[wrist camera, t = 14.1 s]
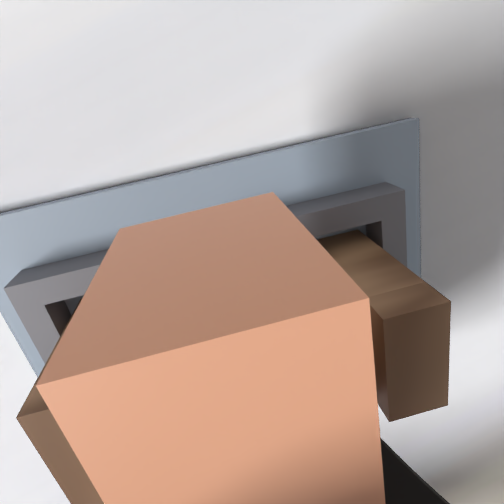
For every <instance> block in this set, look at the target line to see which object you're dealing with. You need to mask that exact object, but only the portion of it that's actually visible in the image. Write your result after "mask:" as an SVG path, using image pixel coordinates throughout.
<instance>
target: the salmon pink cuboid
mask: <svg viewBox="0 0 504 504" xmlns="http://www.w3.org/2000/svg"><path fill="white" fill-rule="evenodd" d="M36 387H37V389H38V391H39V393H40V394H41V396H42V398H43V399H44V401H45V403H46V405H47V406H48V408H49V410H50V412H51V413H52V415H53V417H54V418H55V420H56V422H57V424H58V425H59V427H60V429H61V430H62V432H63V434H64V436H65V437H66V439H67V441H68V442H69V444H70V446H71V448H72V449H73V451H74V453H75V454H76V456H77V458H78V460H79V461H80V463H81V465H82V466H83V468H84V470H85V472H86V473H87V475H88V477H89V478H90V480H91V482H92V484H93V485H94V487H95V489H96V491H97V492H98V494H99V496H100V497H101V499H102V501H103V503H104V504H385V491H384V479H383V466H382V453H381V441H380V428H379V416H378V403H377V390H376V378H375V365H374V352H373V340H372V327H371V314H370V302H369V297H368V296H367V295H366V294H365V293H364V292H363V291H362V289H361V288H360V287H359V286H358V285H357V284H356V283H355V282H354V281H353V279H352V278H351V277H350V276H349V275H348V274H347V273H346V272H345V271H344V270H343V268H342V267H341V266H340V265H339V264H338V263H337V262H336V261H335V260H334V259H333V257H332V256H331V255H330V254H329V253H328V252H327V251H326V250H325V249H324V247H323V246H322V245H321V244H320V243H319V242H318V241H317V240H316V239H315V238H314V236H313V235H312V234H311V233H310V232H309V231H308V230H307V229H306V228H305V227H304V225H303V224H302V223H301V222H300V221H299V220H298V219H297V218H296V217H295V215H294V214H293V213H292V212H291V211H290V210H289V209H288V208H287V207H286V206H285V204H284V203H283V202H282V201H281V200H280V199H279V198H278V197H277V196H276V195H275V193H274V192H270V193H266V194H262V195H258V196H254V197H250V198H245V199H241V200H237V201H233V202H229V203H224V204H220V205H216V206H212V207H208V208H204V209H199V210H195V211H191V212H187V213H183V214H179V215H174V216H170V217H166V218H162V219H158V220H154V221H149V222H145V223H141V224H137V225H133V226H129V227H124V228H120V229H119V231H118V233H117V234H116V236H115V238H114V240H113V242H112V244H111V246H110V248H109V249H108V251H107V253H106V255H105V257H104V259H103V261H102V263H101V264H100V266H99V268H98V270H97V272H96V274H95V276H94V278H93V279H92V281H91V283H90V285H89V287H88V289H87V291H86V292H85V294H84V296H83V298H82V300H81V302H80V304H79V306H78V307H77V309H76V311H75V313H74V315H73V317H72V319H71V321H70V322H69V324H68V326H67V328H66V330H65V332H64V334H63V336H62V337H61V339H60V341H59V343H58V345H57V347H56V349H55V351H54V352H53V354H52V356H51V358H50V360H49V362H48V364H47V366H46V367H45V369H44V371H43V373H42V375H41V377H40V379H39V381H38V382H37V384H36Z"/></svg>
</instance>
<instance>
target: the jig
mask: <svg viewBox="0 0 504 504" xmlns="http://www.w3.org/2000/svg"><path fill="white" fill-rule="evenodd" d="M270 192H274V193H275V195H276V196H277V197H278V198H279V199H280V200H281V201H282V202H283V203H284V204H285V206H286V207H287V208H288V209H289V210H290V211H291V212H292V213H293V214H294V215H295V217H296V218H297V219H298V220H299V221H300V222H301V223H302V224H303V225H304V227H305V228H306V229H307V230H308V231H309V232H310V233H311V234H312V235H313V236H314V238H315V239H316V240H317V239H321V238H325V237H329V236H333V235H337V234H341V233H345V232H349V231H353V230H357V229H358V230H359V231H360V232H362V233H363V234H364V235H366V236H367V237H368V238H369V239H371V240H372V241H373V242H375V243H376V244H377V245H379V246H380V247H381V248H382V249H384V250H385V251H386V252H388V253H389V254H390V255H391V256H393V257H394V258H395V259H397V260H398V261H399V262H400V263H402V264H403V265H404V266H406V267H407V268H408V269H410V270H411V271H412V272H413V273H415V274H416V275H417V276H419V277H420V278H421V252H420V161H419V119H417V118H408V119H404V120H400V121H395V122H391V123H387V124H383V125H378V126H374V127H370V128H365V129H361V130H357V131H352V132H348V133H344V134H339V135H335V136H331V137H326V138H322V139H318V140H314V141H309V142H305V143H301V144H296V145H292V146H288V147H283V148H279V149H275V150H270V151H266V152H262V153H258V154H253V155H249V156H245V157H240V158H236V159H232V160H227V161H223V162H219V163H214V164H210V165H206V166H201V167H197V168H193V169H189V170H184V171H180V172H176V173H171V174H167V175H163V176H158V177H154V178H150V179H145V180H141V181H137V182H133V183H128V184H124V185H120V186H115V187H111V188H107V189H102V190H98V191H94V192H89V193H85V194H81V195H76V196H72V197H68V198H64V199H59V200H55V201H51V202H46V203H42V204H38V205H33V206H29V207H25V208H20V209H16V210H12V211H8V212H3V213H0V312H1V314H2V316H3V318H4V319H5V321H6V323H7V325H8V326H9V328H10V330H11V332H12V333H13V335H14V337H15V339H16V340H17V342H18V344H19V346H20V347H21V349H22V351H23V353H24V354H25V356H26V358H27V360H28V361H29V363H30V365H31V367H32V368H33V370H34V372H35V374H36V375H37V377H39V375H40V373H41V371H42V369H43V367H44V365H45V364H46V362H47V360H48V358H49V356H50V354H51V353H52V351H53V349H54V347H55V345H56V343H57V341H58V340H59V338H60V336H61V334H62V332H63V330H64V329H65V327H66V325H67V323H68V321H69V319H70V317H71V316H72V314H73V312H74V310H75V308H76V306H77V304H78V303H79V301H80V299H81V298H83V296H84V294H85V292H86V291H87V289H88V287H89V285H90V283H91V281H92V279H93V278H94V276H95V274H96V272H97V270H98V268H99V266H100V264H101V263H102V261H103V259H104V257H105V255H106V253H107V251H108V249H109V248H110V246H111V244H112V242H113V240H114V238H115V236H116V234H117V233H118V231H119V229H120V228H124V227H129V226H133V225H137V224H141V223H145V222H149V221H154V220H158V219H162V218H166V217H170V216H174V215H179V214H183V213H187V212H191V211H195V210H199V209H204V208H208V207H212V206H216V205H220V204H224V203H229V202H233V201H237V200H241V199H245V198H250V197H254V196H258V195H262V194H266V193H270Z"/></svg>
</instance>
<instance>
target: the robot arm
mask: <svg viewBox="0 0 504 504" xmlns="http://www.w3.org/2000/svg"><path fill="white" fill-rule="evenodd" d="M380 441H381V453H382V466H383V479H384V491H385V504H450V503H448V502H447V501H446V500H445V499H444V498H443V497H442V496H441V495H439V494H438V493H437V492H436V491H435V490H434V489H433V488H432V487H431V486H429V485H428V484H427V483H426V482H425V481H424V480H423V479H422V478H421V477H420V476H419V475H418V474H417V473H415V472H414V471H413V470H412V469H411V468H410V467H409V466H408V465H407V464H406V463H405V462H404V461H403V460H402V459H401V458H400V457H399V456H398V455H397V454H396V453H395V452H394V451H393V450H392V449H391V448H390V447H389V446H388V445H387V444H386V443H385V442H384V441H383V440H382V439H381V438H380Z"/></svg>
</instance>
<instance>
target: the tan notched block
mask: <svg viewBox="0 0 504 504" xmlns="http://www.w3.org/2000/svg"><path fill="white" fill-rule="evenodd" d="M317 241H318V242H319V243H320V244H321V245H322V246H323V247H324V249H325V250H326V251H327V252H328V253H329V254H330V255H331V256H332V257H333V259H334V260H335V261H336V262H337V263H338V264H339V265H340V266H341V267H342V268H343V270H344V271H345V272H346V273H347V274H348V275H349V276H350V277H351V278H352V279H353V281H354V282H355V283H356V284H357V285H358V286H359V287H360V288H361V289H362V291H363V292H364V293H365V294H366V295H367V296H368V297H369V302H370V314H371V327H372V340H373V352H374V365H375V378H376V390H377V403H378V405H379V406H380V408H381V409H382V411H383V413H384V414H385V416H386V417H387V419H388V421H389V422H391V421H395V420H398V419H402V418H405V417H409V416H412V415H416V414H419V413H423V412H426V411H430V410H433V409H437V408H440V407H443V406H447V405H448V381H449V346H450V312H451V301H450V300H448V299H447V298H446V297H444V296H443V295H442V294H441V293H439V292H438V291H437V290H435V289H434V288H433V287H431V286H430V285H429V284H428V283H426V282H425V281H424V280H422V279H421V278H420V277H419V276H417V275H416V274H415V273H413V272H412V271H411V270H410V269H408V268H407V267H406V266H404V265H403V264H402V263H400V262H399V261H398V260H397V259H395V258H394V257H393V256H391V255H390V254H389V253H388V252H386V251H385V250H384V249H382V248H381V247H380V246H379V245H377V244H376V243H375V242H373V241H372V240H371V239H369V238H368V237H367V236H366V235H364V234H363V233H362V232H360V231H359V230H358V229H357V230H353V231H349V232H345V233H341V234H337V235H333V236H329V237H325V238H321V239H317ZM81 300H82V298H81V299H80V301H79V303H78V304H77V306H76V308H75V310H74V312H73V314H72V316H71V317H70V319H69V321H68V323H67V325H66V327H65V329H64V330H63V332H62V334H61V336H60V338H59V340H58V341H57V343H56V345H55V347H54V349H53V351H52V353H51V354H50V356H49V358H48V360H47V362H46V364H45V365H44V367H43V369H42V371H41V373H40V375H39V377H38V378H37V380H36V382H35V384H34V386H33V388H32V390H31V391H30V393H29V395H28V397H27V399H26V401H25V402H24V404H23V406H22V408H21V410H20V412H19V414H18V415H17V417H16V418H17V420H18V422H19V423H20V425H21V426H22V428H23V429H24V431H25V433H26V434H27V436H28V437H29V439H30V440H31V442H32V443H33V445H34V447H35V448H36V450H37V451H38V453H39V454H40V456H41V458H42V459H43V461H44V462H45V464H46V465H47V467H48V468H49V470H50V472H51V473H52V475H53V476H54V478H55V479H56V481H57V482H58V484H59V486H60V487H61V489H62V490H63V492H64V493H65V495H66V497H67V498H68V500H69V501H70V503H71V504H104V503H103V501H102V499H101V497H100V496H99V494H98V492H97V491H96V489H95V487H94V485H93V484H92V482H91V480H90V478H89V477H88V475H87V473H86V472H85V470H84V468H83V466H82V465H81V463H80V461H79V460H78V458H77V456H76V454H75V453H74V451H73V449H72V448H71V446H70V444H69V442H68V441H67V439H66V437H65V436H64V434H63V432H62V430H61V429H60V427H59V425H58V424H57V422H56V420H55V418H54V417H53V415H52V413H51V412H50V410H49V408H48V406H47V405H46V403H45V401H44V399H43V398H42V396H41V394H40V393H39V391H38V389H37V387H36V384H37V382H38V381H39V379H40V377H41V375H42V373H43V371H44V369H45V367H46V366H47V364H48V362H49V360H50V358H51V356H52V354H53V352H54V351H55V349H56V347H57V345H58V343H59V341H60V339H61V337H62V336H63V334H64V332H65V330H66V328H67V326H68V324H69V322H70V321H71V319H72V317H73V315H74V313H75V311H76V309H77V307H78V306H79V304H80V302H81Z"/></svg>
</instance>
